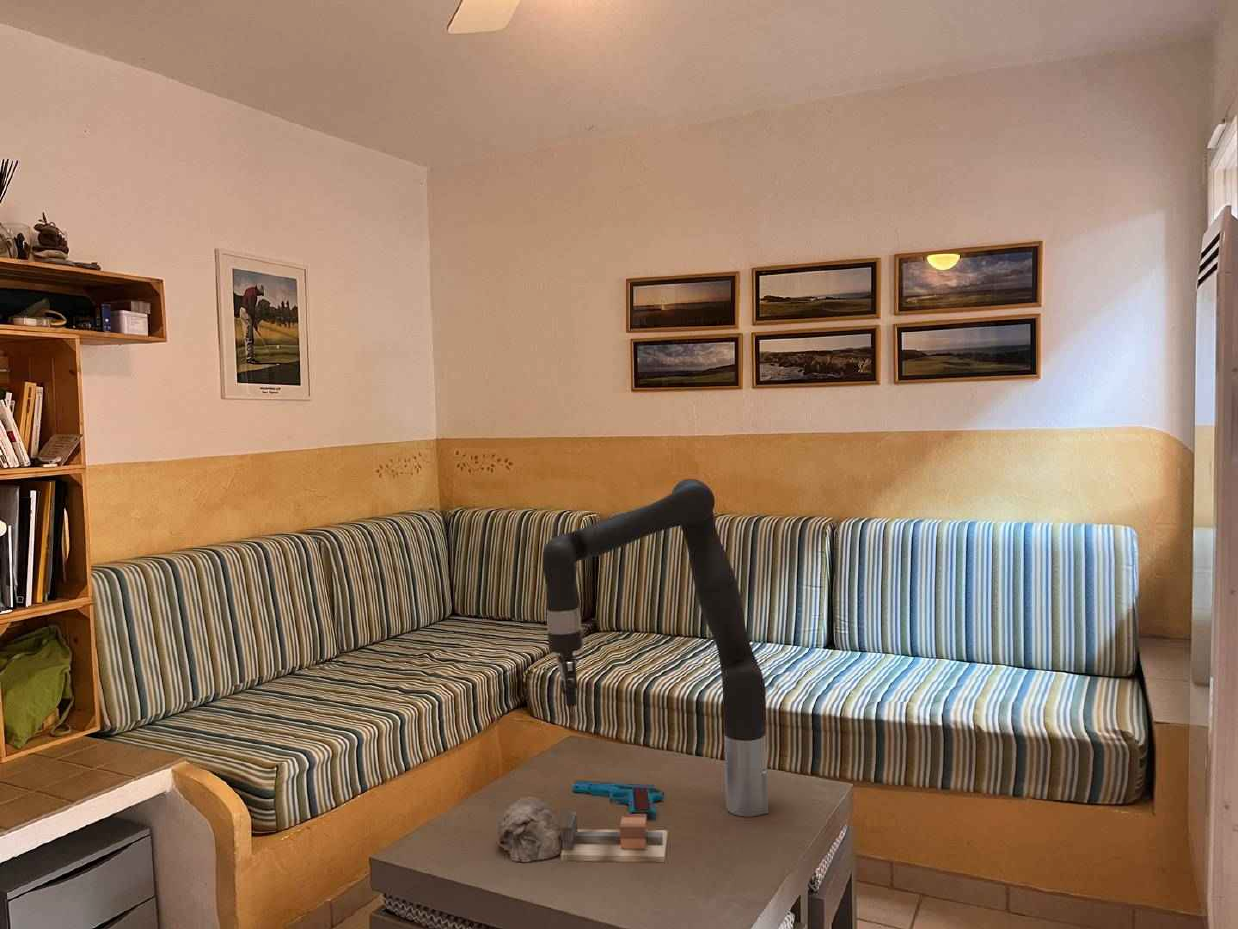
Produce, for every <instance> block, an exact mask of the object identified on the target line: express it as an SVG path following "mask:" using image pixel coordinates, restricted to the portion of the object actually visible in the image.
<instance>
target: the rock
mask: <svg viewBox="0 0 1238 929" xmlns="http://www.w3.org/2000/svg"><path fill="white" fill-rule="evenodd" d="M497 823H498V825H497V831H498V836H499V840H498V846H500V848H503V850H504V851H508V854H509V855H510V859H511V861H512V862H513V861H514V862H522V863H531V862H533V861H540V860H541V861H542V860H548V859H550V858H553V857H556V856H558V855H559V854H560V855H561V853H562V850H563V842H562V829H561V827H560V823H559V821H558V819H557V818H556V816H555V813H554V810H553V809H552V807H551V806H549V805H548V804H546V802H544V801H542V799H541V800H540V799H539V798H537V797H533V796H524V797H521V798H520V799H518V800H517V801H515V802H513V803H511V805H510V806H509V807H508V808H507V809H506V810H505V811H504V812H503V814H502V815H501V817H500V818H499V821H498V822H497Z"/></svg>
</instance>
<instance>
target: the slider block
mask: <svg viewBox="0 0 1238 929" xmlns="http://www.w3.org/2000/svg"><path fill="white" fill-rule="evenodd" d="M619 830H620V840H621V848H622V849H645V848H646V832H647V830H648V820H647V814H630V813H622V817H621V821H620V825H619Z"/></svg>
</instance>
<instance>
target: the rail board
mask: <svg viewBox="0 0 1238 929" xmlns="http://www.w3.org/2000/svg"><path fill="white" fill-rule="evenodd" d="M668 833H669V832H668V830H663V829H662V830H659V829H657V830H655V829H653V830H651V829H650V830H649V829H647V832H646V848H645V849H622V848H621V840H620V829H586V828H585V829H582V828H581V829H579V828H578V812H577V811H567V813H566V815H565V818H564V820H563V823H562V825H561V836H562V842H563V845H562V851H561V853H560V861H563V862H565V861H569V862H571V861H573V862H575V861H576V862H620V863H621V862H624V863H627V862H629V863H630V862H631V863H632V862H633V863H665V860H666V854H667V853H666V852H667V844H668V838H669V836H668Z"/></svg>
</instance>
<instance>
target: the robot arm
mask: <svg viewBox="0 0 1238 929" xmlns="http://www.w3.org/2000/svg"><path fill="white" fill-rule="evenodd" d="M715 502H716V500H715V496H714V493H713V491H712V490H711V489H710V487H709V486H708V485H707V484H705V482H703V481H701V480H699V479H696V478H685V479H682V480H681V481H679V482H678V483H677V484H676V485H675V486H674V488H673V490H672V492H671V493H669V494H667V495H666V496H664V497H663V498H661V499H659V500H656V501H655V502H652V503H651V504H648V505H646V506H642V507H639V508H635V509H632V510H629V511H626V512H621V513H618V514H615V515H612V516H609V517H607V518H604V519H601V520H599V521H596V522H594V523H592V524H589V525H587V526H585V527H583V528H579V529H576V530H572V531H568V532H566V533H563V534H560V535H557V536H555V537H553V538H552V539H549V540H548V542H547V543H546V544H545V546H544V548H543V551H542V555H541V556H542V568H543V576H544V580H545V598H546V626H547V627H546V629H547V630H546V631H547V641H548V642H547V644H548V651H550V652H551V653H554V654H557V657H556V663H557V670H558V673H559V676H560V678H561V679H560V680H561V692H562V694H563V695H565V704H566V707H568V708H570V707H575V706H577V691H576V689H578V682H577V680H578V679H577V678H578V670H577V664H578V663H577V658H576V656H575V654H573V653H574V652H577V651H580V650H581V649H582V648H583V646H584V645H583V632H582V631H583V630H582V618H581V612H580V605H579V604H580V603H579V593H578V592H579V591H578V586H577V583H576V562H579V561H581V560H584V559H586V558H590V557H595V558H596V557H600V556H603V555H604V554H607V553H610V552H612V551H615V550H617V549H620V548H621V547H624V546H626V545H629V544H631V543H634V542H636V541H639V540H641V539H643V538H646V537H648V536H650V535H653V534H656V533H659V532H663V531H666V530H668V529H672V528H678V527H680V528H681V531H682V533H683V536H684V539H685V543H686V546H687V552H688V559H689V565H690V571H691V575H692V576H691V577H692V579H693V585H694V589H695V593H696V597H697V599H698V600H697V601H698V604H699V607H700V610H701V613H702V615H703V618H704V620H705V622H706V625H707V627H708V628H709V631H710V633H711V635H712V637H713V640H714V642H715V646H716V649H717V653H718V660H719V664H720V671H721V673H720V674H721V684H722V704H723V707H722V710H723V740H724V741H723V742H724V743H723V744H724V746H723V747H724V771H725V772H724V774H725V779H724V780H725V802H726V803H725V804H726V806H725V807H726V810H727V812H729V813H730V814H733V815H734V816H735V815H736V816H739V817H747V818H749V817H757V816H760V815H761V816H762V815H764V814H765V815H768V814H769V789H768V786H769V785H768V768H767V741H766V739H767V738H766V736H767V735H766V733H767V732H766V731H767V730H766V726H767V710H766V709H767V706H766V705H767V703H766V702H767V701H766V700H767V698H766V683H765V679H764V675H763V671H762V670H761V668H760V666H759V664H758V661H757V658H756V656H755V654H754V651H753V649H752V646H751V643H750V641H749V636H748V634H747V628H746V620H745V613H744V612H745V611H744V606H743V601H742V597H741V596H742V595H741V593H740V589H739V586H738V583H737V578H736V576H735V572H734V570H733V567H732V565H731V562H730V560H729V556H728V555H727V553H726V550H725V549H724V546H723V544H722V542H721V539H720V537H719V534H718V530H717V526H716V521H715V515H714V507H715V504H716V503H715Z"/></svg>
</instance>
